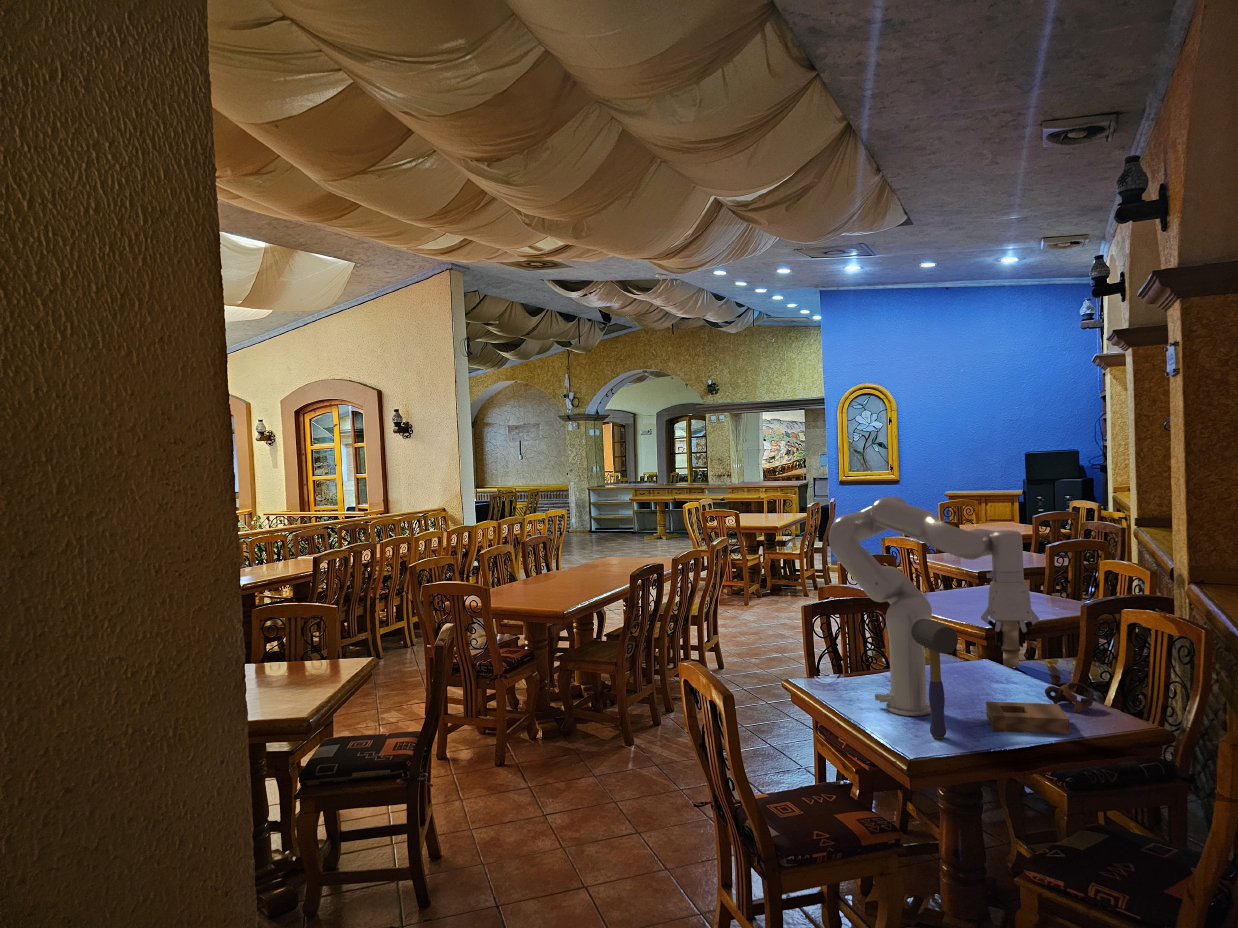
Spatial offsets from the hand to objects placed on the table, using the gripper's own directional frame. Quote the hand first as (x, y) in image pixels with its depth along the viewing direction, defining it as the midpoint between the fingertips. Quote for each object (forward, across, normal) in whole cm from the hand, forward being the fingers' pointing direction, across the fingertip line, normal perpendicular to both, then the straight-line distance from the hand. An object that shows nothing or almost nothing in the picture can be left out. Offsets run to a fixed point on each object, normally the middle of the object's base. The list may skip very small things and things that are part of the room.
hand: (1010, 645), depth 222 cm
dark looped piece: (+22, +17, +18) cm, 33 cm away
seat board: (+21, +3, 0) cm, 21 cm away
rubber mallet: (+21, -20, -14) cm, 32 cm away
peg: (+5, 0, 0) cm, 5 cm away
